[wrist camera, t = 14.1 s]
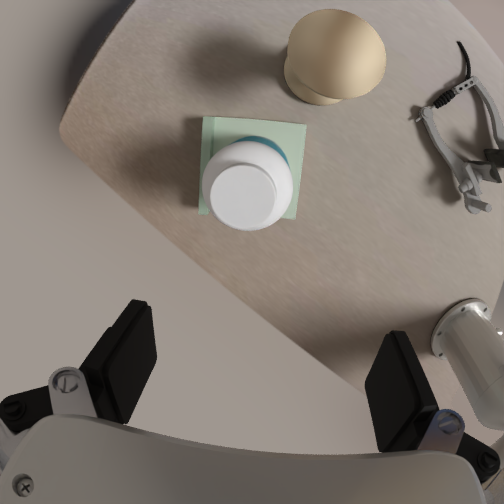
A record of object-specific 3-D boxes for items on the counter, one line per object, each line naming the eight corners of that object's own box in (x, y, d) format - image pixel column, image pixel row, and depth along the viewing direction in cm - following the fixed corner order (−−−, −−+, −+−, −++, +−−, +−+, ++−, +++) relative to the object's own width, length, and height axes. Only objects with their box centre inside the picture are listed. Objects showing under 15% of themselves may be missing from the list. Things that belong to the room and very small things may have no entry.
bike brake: (518, 171, 30) (452, 46, 27) (545, 175, 23) (473, 31, 20) (458, 216, 34) (383, 83, 31) (482, 228, 28) (397, 69, 25)
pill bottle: (226, 131, 32) (195, 137, 19) (293, 140, 32) (305, 152, 19) (218, 195, 35) (187, 239, 23) (282, 204, 35) (286, 254, 22)
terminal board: (305, 124, 32) (308, 125, 29) (294, 216, 36) (296, 223, 34) (208, 116, 32) (203, 116, 30) (203, 207, 37) (198, 214, 34)
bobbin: (355, 47, 27) (387, 21, 17) (350, 110, 31) (382, 107, 21) (286, 36, 28) (291, 2, 18) (281, 100, 31) (283, 90, 21)
